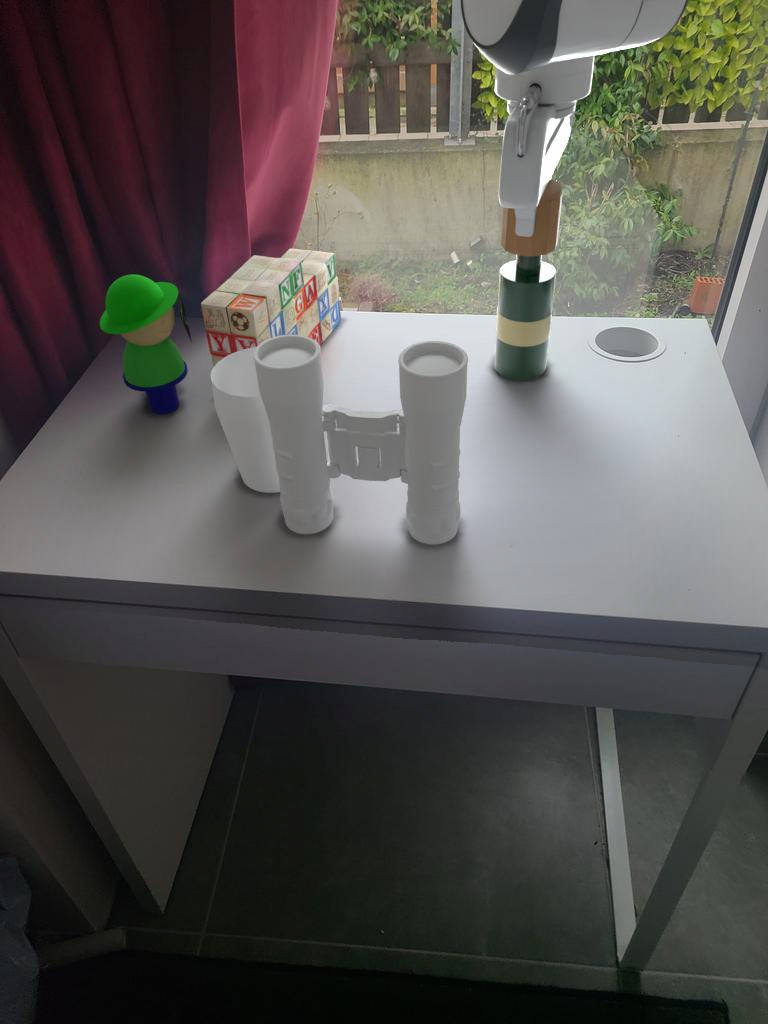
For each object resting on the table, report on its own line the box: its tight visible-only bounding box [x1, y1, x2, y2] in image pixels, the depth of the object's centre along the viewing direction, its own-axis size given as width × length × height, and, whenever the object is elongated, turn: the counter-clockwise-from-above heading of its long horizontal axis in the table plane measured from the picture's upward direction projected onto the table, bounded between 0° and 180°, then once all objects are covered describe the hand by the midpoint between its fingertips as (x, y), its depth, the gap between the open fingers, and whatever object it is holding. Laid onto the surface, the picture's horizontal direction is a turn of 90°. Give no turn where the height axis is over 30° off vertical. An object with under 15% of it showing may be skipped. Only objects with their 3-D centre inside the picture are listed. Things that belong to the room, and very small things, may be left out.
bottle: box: [493, 255, 557, 381], centre depth 90 cm, size 6×6×17 cm
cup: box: [210, 347, 280, 494], centre depth 78 cm, size 9×9×12 cm
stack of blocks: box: [200, 248, 342, 367], centre depth 95 cm, size 21×6×12 cm, turn 159°
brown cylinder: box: [500, 178, 564, 257], centre depth 84 cm, size 6×6×6 cm
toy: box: [99, 274, 193, 416], centre depth 88 cm, size 9×9×15 cm
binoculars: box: [253, 335, 469, 545], centre depth 70 cm, size 17×5×18 cm, turn 81°
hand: (531, 220), depth 84 cm, fingers closed on brown cylinder, 6 cm apart
